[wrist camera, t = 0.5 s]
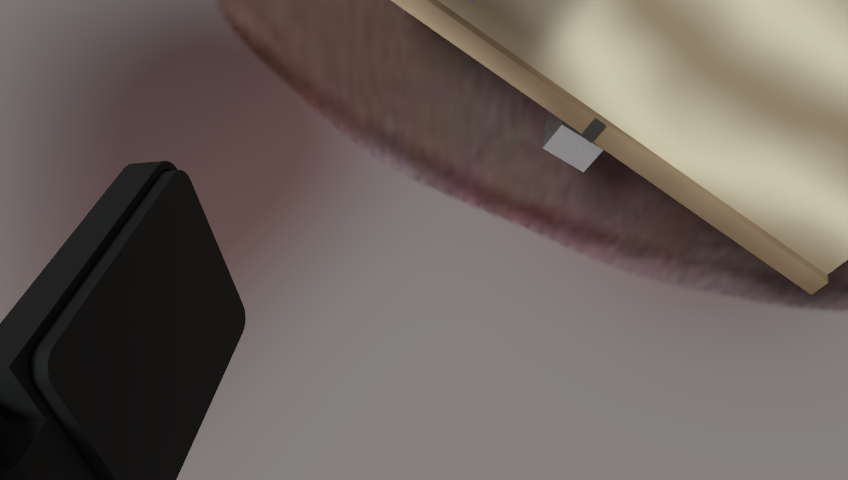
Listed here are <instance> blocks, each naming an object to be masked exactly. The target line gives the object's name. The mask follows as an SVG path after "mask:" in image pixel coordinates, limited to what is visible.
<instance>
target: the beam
mask: <svg viewBox="0 0 848 480" xmlns="http://www.w3.org/2000/svg"><path fill="white" fill-rule="evenodd" d="M391 1H392V2H394V3H395V4H397V5H398V6H400V7H401V8H402V9H404V10H405V11H407V12H408V13H410V14H411V15H412V16H414V17H415V18H417V19H418V20H420V21H421V22H422V23H424V24H425V25H427V26H428V27H430V28H431V29H432V30H434V31H435V32H437V33H438V34H440V35H441V36H442V37H444V38H445V39H447V40H448V41H450V42H451V43H452V44H454V45H455V46H457V47H458V48H460V49H461V50H462V51H464V52H465V53H467V54H468V55H470V56H471V57H472V58H474V59H475V60H477V61H478V62H480V63H481V64H482V65H484V66H485V67H487V68H488V69H490V70H491V71H492V72H494V73H495V74H497V75H498V76H500V77H501V78H502V79H504V80H505V81H507V82H508V83H510V84H511V85H512V86H514V87H515V88H517V89H518V90H519V91H521V92H522V93H524V94H525V95H527V96H528V97H529V98H531V99H532V100H534V101H535V102H537V103H538V104H539V105H541V106H542V107H544V108H545V109H547V110H548V111H549V112H551V113H552V114H554V115H555V116H557V117H558V118H559V119H561V120H562V121H564V122H565V123H567V124H568V125H569V126H571V127H572V128H574V129H575V130H577V131H578V132H579V133H581V136H582V137H583V138H585V139H586V140H587V141H589V142H590V143H592V142H594V143H595V144H597V145H598V146H599V147H601V148H602V149H604V150H605V151H607V152H608V153H609V154H611V155H612V156H614V157H615V158H617V159H618V160H619V161H621V162H622V163H624V164H625V165H627V166H628V167H629V168H631V169H632V170H634V171H635V172H637V173H638V174H639V175H641V176H642V177H644V178H645V179H647V180H648V181H649V182H651V183H652V184H654V185H655V186H657V187H658V188H659V189H661V190H662V191H664V192H665V193H667V194H668V195H669V196H671V197H672V198H674V199H675V200H677V201H678V202H679V203H681V204H682V205H684V206H685V207H687V208H688V209H689V210H691V211H692V212H694V213H695V214H697V215H698V216H699V217H701V218H702V219H704V220H705V221H706V222H708V223H709V224H711V225H712V226H714V227H715V228H716V229H718V230H719V231H721V232H722V233H724V234H725V235H726V236H728V237H729V238H731V239H732V240H734V241H735V242H736V243H738V244H739V245H741V246H742V247H744V248H745V249H746V250H748V251H749V252H751V253H752V254H754V255H755V256H756V257H758V258H759V259H761V260H762V261H764V262H765V263H766V264H768V265H769V266H771V267H772V268H774V269H775V270H776V271H778V272H779V273H781V274H782V275H784V276H785V277H786V278H788V279H789V280H791V281H792V282H794V283H795V284H796V285H798V286H799V287H801V288H802V289H804V290H805V291H807V292H808V293H809V294H811V295H812V294H813V293H815V292H816V291H818V290H819V289H820V288H822V287H823V286H824V285H826V284H827V283H828V276H827V275H828V274H829V273H830V272H832V271H833V270H834V269H836V268H837V267H839V266H840V265H841V264H843V263H844V262H845V261H847V260H848V0H476V1H475V2H474V3H473V2H472V1H470V0H391Z"/></svg>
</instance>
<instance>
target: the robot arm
mask: <svg viewBox="0 0 848 480" xmlns="http://www.w3.org/2000/svg"><path fill="white" fill-rule="evenodd" d="M244 326H245V310H244V307H243V304H242V301H241V299H240V297H239V294H238V292H237V289H236V287H235V285H234V283H233V280H232V278H231V275H230V273H229V270H228V268H227V266H226V263H225V261H224V259H223V256H222V254H221V252H220V249H219V247H218V245H217V242H216V240H215V237H214V235H213V233H212V230H211V228H210V225H209V223H208V221H207V218H206V216H205V214H204V211H203V209H202V206H201V204H200V202H199V199H198V197H197V194H196V192H195V190H194V187H193V185H192V183H191V180H190V178H189V176H188V175H187V174H186V173H185V172H184V171H182V170H177V168H176V167H175V166H174V165H173V164H172V163H170V162H168V161H160V162H147V163H134V164H129V165H128V166H126V167H125V168H124V169H123V170H122V172H121V173H120V174H119V175H118V177H117V178H116V179H115V180H114V182H113V183H112V184H111V185H110V187H109V188H108V189H107V190H106V192H105V193H104V194H103V195H102V197H101V198H100V199H99V200H98V202H97V203H96V204H95V205H94V207H93V208H92V209H91V210H90V212H89V213H88V214H87V216H86V217H85V218H84V219H83V221H82V222H81V223H80V224H79V226H78V227H77V228H76V229H75V231H74V232H73V233H72V234H71V236H70V237H69V238H68V239H67V241H66V242H65V243H64V244H63V246H62V247H61V248H60V249H59V251H58V252H57V253H56V255H55V256H54V257H53V258H52V259H51V261H50V262H49V263H48V264H47V266H46V267H45V268H44V270H43V271H42V272H41V273H40V275H39V276H38V277H37V278H36V280H35V281H34V282H33V283H32V285H31V286H30V287H29V289H28V290H27V291H26V292H25V293H24V295H23V296H22V297H21V298H20V300H19V301H18V302H17V303H16V305H15V306H14V307H13V309H12V310H11V311H10V312H9V314H8V315H7V316H6V317H5V318H4V320H3V321H2V322H1V323H0V480H176V478H177V477H178V474H179V472H180V470H181V468H182V466H183V463H184V461H185V459H186V457H187V455H188V452H189V450H190V448H191V446H192V443H193V441H194V439H195V437H196V435H197V432H198V430H199V428H200V426H201V424H202V421H203V419H204V417H205V415H206V412H207V410H208V408H209V406H210V404H211V401H212V399H213V397H214V395H215V393H216V390H217V388H218V386H219V384H220V382H221V379H222V377H223V375H224V373H225V370H226V368H227V366H228V364H229V362H230V359H231V357H232V355H233V353H234V351H235V348H236V346H237V344H238V342H239V340H240V337H241V335H242V333H243V330H244Z"/></svg>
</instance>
